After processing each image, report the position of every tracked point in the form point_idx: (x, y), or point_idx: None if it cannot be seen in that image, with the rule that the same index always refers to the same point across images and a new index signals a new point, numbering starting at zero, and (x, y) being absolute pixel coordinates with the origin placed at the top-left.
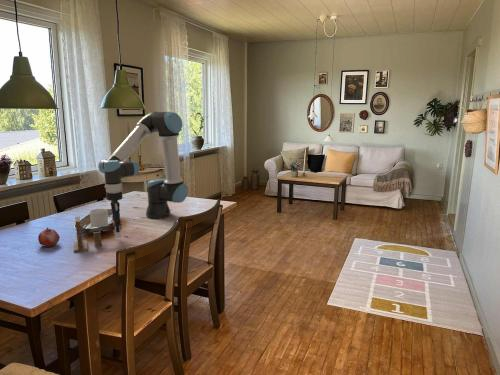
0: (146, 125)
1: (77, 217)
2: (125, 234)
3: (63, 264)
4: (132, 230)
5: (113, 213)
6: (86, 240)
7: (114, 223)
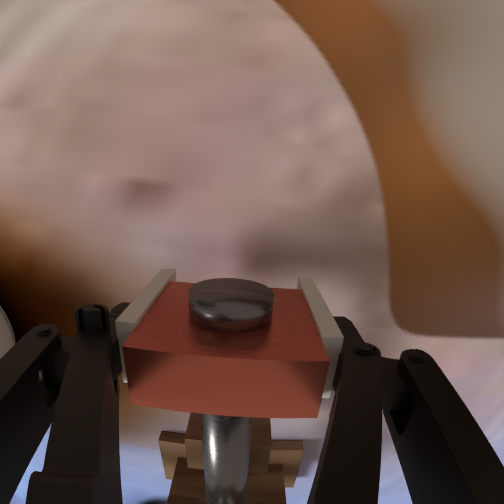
0: None
1: None
2: (91, 194)
3: (393, 486)
4: (37, 135)
5: (117, 471)
6: (165, 441)
7: (315, 414)
